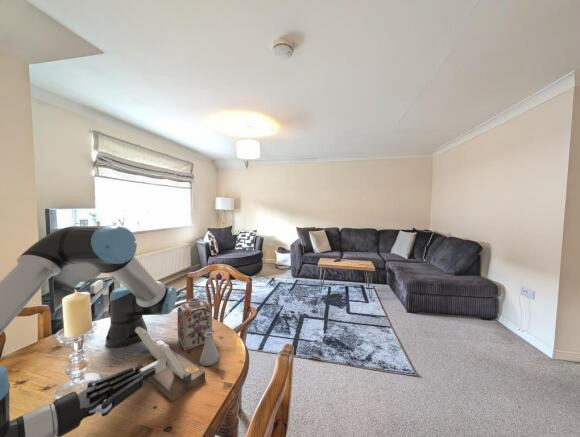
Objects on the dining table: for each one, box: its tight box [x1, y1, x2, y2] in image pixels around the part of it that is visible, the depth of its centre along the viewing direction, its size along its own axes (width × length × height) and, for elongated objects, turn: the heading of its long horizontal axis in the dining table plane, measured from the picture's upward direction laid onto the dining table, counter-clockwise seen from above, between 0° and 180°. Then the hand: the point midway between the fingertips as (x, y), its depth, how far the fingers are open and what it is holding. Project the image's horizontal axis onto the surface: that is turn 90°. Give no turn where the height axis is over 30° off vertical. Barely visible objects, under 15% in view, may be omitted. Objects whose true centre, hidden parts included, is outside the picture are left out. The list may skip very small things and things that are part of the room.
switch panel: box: [137, 348, 206, 402], centre depth 78 cm, size 11×24×4 cm, turn 54°
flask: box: [198, 331, 221, 367], centre depth 85 cm, size 7×7×10 cm
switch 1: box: [135, 327, 163, 360], centre depth 79 cm, size 2×6×14 cm, turn 55°
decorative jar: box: [177, 297, 213, 352], centre depth 99 cm, size 12×12×18 cm
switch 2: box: [154, 339, 186, 380], centre depth 71 cm, size 2×6×14 cm, turn 55°
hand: (164, 362), depth 69 cm, fingers closed
